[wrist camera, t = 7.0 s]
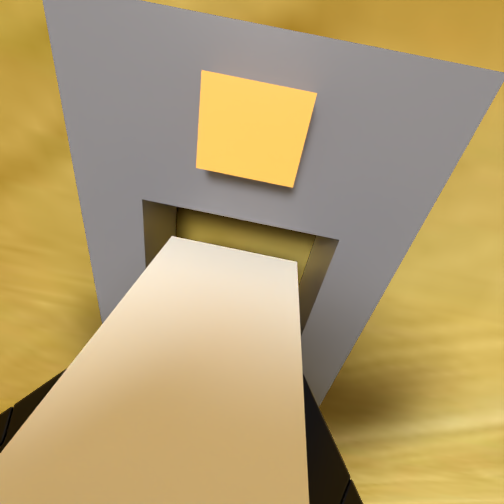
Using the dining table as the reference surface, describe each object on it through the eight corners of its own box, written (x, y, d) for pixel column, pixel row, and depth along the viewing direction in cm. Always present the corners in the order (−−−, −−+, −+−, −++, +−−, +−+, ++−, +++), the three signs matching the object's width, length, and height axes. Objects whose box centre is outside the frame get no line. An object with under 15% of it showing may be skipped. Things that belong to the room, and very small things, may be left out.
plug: (265, 360, 11) (239, 678, 5) (170, 341, 11) (34, 633, 5) (296, 261, 8) (317, 681, 2) (171, 235, 8) (-106, 586, 2)
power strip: (268, 453, 22) (260, 589, 16) (148, 427, 22) (96, 553, 16) (439, 78, 8) (853, 49, 2) (116, 13, 8) (-335, -181, 2)
